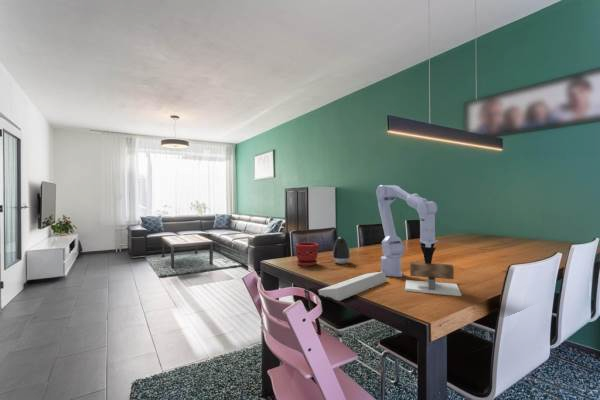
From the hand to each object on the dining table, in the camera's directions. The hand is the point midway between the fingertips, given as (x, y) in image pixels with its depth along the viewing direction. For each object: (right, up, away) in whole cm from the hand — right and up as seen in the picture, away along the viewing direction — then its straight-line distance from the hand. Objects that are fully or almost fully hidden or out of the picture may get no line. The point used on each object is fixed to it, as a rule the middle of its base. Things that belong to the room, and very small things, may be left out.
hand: (427, 261), depth 125 cm
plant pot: (-50, -11, +45) cm, 68 cm away
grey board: (0, -10, -4) cm, 11 cm away
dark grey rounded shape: (-30, -11, +46) cm, 56 cm away
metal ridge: (0, -10, -4) cm, 11 cm away
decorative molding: (-31, -12, -1) cm, 33 cm away
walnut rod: (0, -5, -4) cm, 7 cm away
